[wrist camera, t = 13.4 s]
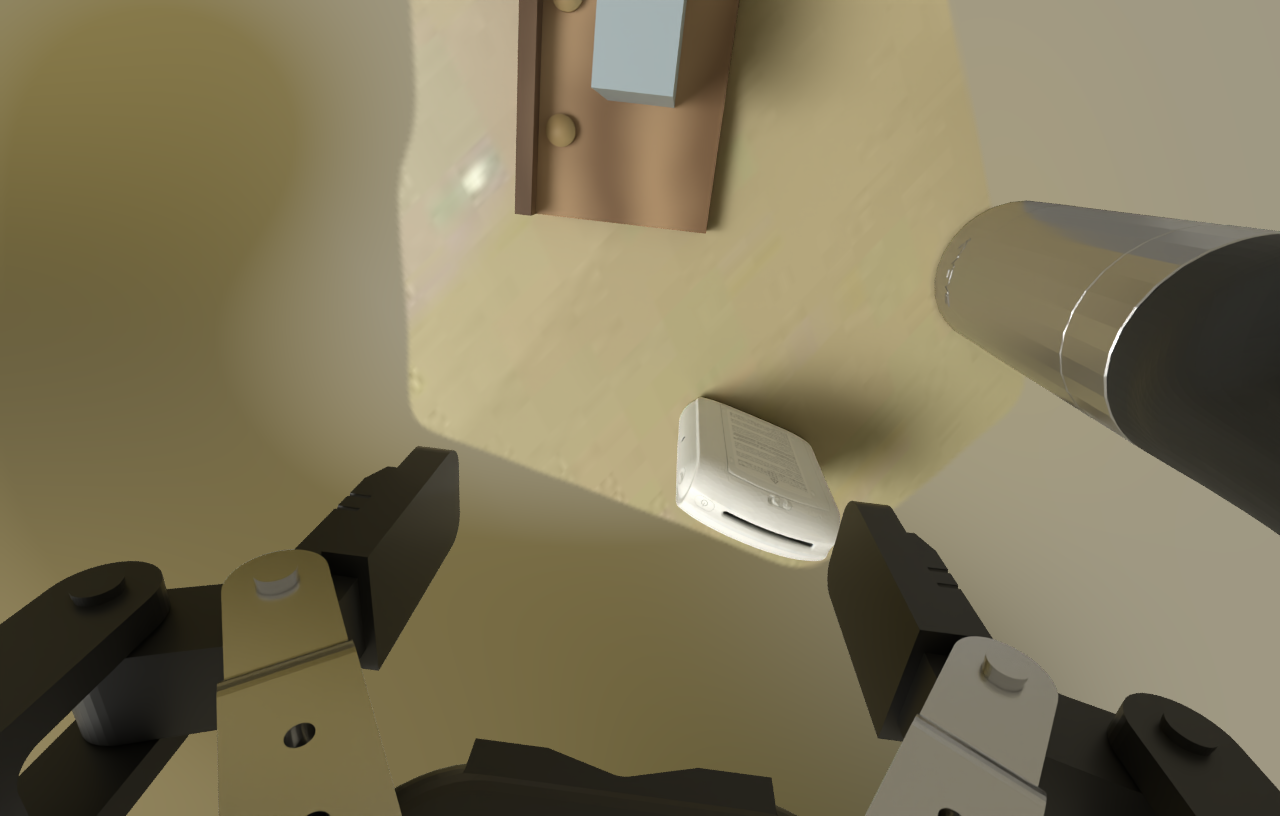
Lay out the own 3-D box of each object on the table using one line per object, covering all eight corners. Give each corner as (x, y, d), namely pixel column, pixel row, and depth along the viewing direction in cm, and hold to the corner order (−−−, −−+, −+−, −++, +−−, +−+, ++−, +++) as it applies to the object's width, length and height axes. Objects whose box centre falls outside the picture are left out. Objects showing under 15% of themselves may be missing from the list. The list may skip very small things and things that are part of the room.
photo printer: (668, 434, 45) (664, 529, 33) (691, 386, 43) (696, 468, 32) (789, 483, 46) (825, 591, 34) (817, 438, 44) (864, 535, 33)
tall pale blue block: (693, -57, 32) (696, -112, 25) (674, 107, 35) (672, 96, 28) (620, -65, 32) (604, -122, 25) (607, 100, 35) (591, 87, 29)
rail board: (751, -91, 32) (761, -125, 28) (705, 231, 39) (707, 239, 35) (533, -114, 32) (513, -151, 28) (525, 210, 39) (507, 216, 35)
